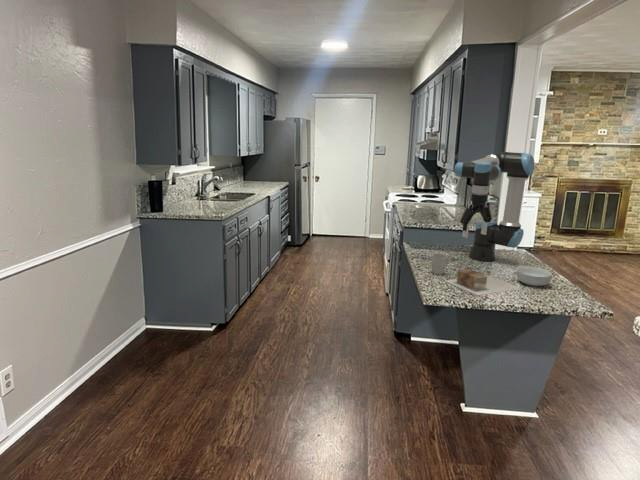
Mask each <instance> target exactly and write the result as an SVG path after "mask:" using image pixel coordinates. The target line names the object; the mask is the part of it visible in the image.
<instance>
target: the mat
mask: <svg viewBox="0 0 640 480" xmlns="http://www.w3.org/2000/svg"><path fill="white" fill-rule="evenodd" d="M483 275H485V276H487V282H486V288H485V289H483V290H477V291H474V290H472V289H470V288H467V287H465V286H463V285H460V284H458V283H457V278H454V279H453V278H452V279H448V280H443V282H444V283H446V284H450V285H451V286H453V287H456V288H458V289H461V290H464V291H465V292H468V293H470V294H472V295H475V296H476V297H481V296H483V295H488V294H493V293H499V292H504V291H505V292H506V291H509V290H515V289H520V286H518V285H514V284H511V283H509V282H507V281H503V280H502V279H498V278H496V277H494V276H490V275H488V274H485V273H484V274H483Z"/></svg>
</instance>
